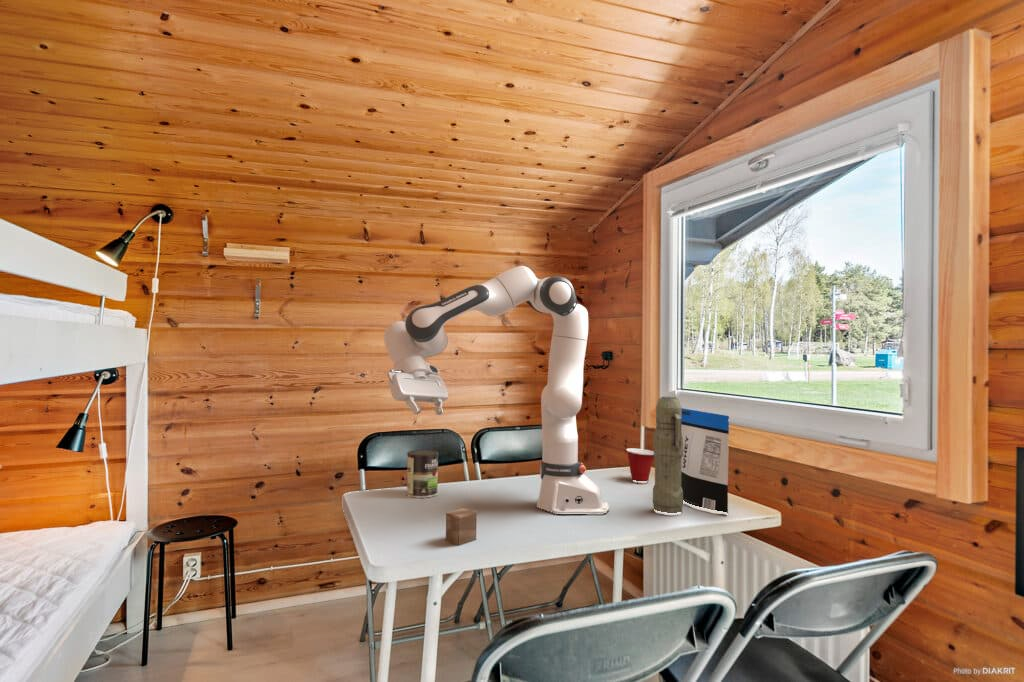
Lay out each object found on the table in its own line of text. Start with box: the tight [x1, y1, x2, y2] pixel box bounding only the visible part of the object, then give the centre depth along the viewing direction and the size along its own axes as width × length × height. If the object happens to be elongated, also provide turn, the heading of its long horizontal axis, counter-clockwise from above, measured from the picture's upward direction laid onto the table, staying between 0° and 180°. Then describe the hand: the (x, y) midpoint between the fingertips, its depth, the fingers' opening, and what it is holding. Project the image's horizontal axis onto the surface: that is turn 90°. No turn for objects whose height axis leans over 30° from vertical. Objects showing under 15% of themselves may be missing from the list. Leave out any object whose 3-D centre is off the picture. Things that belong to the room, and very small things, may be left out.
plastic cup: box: [626, 447, 655, 481], centre depth 219 cm, size 11×11×12 cm
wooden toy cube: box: [445, 508, 478, 546], centre depth 151 cm, size 5×6×7 cm
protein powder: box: [681, 407, 730, 514], centre depth 188 cm, size 10×24×30 cm, turn 20°
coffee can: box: [406, 449, 439, 499], centre depth 197 cm, size 10×10×14 cm
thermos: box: [652, 396, 684, 513], centre depth 180 cm, size 9×12×35 cm
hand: (429, 413), depth 165 cm, fingers open, 8 cm apart
